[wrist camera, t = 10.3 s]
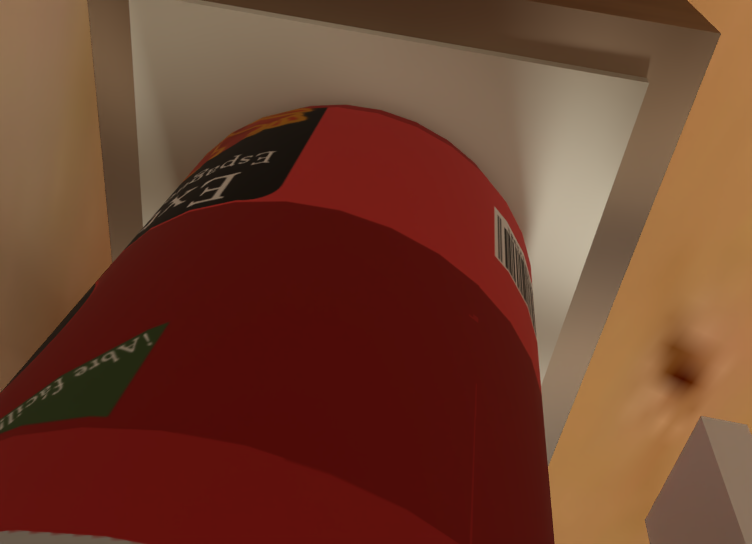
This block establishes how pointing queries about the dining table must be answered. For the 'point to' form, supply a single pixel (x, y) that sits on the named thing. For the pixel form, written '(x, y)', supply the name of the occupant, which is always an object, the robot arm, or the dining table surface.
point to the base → (428, 116)
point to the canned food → (295, 358)
